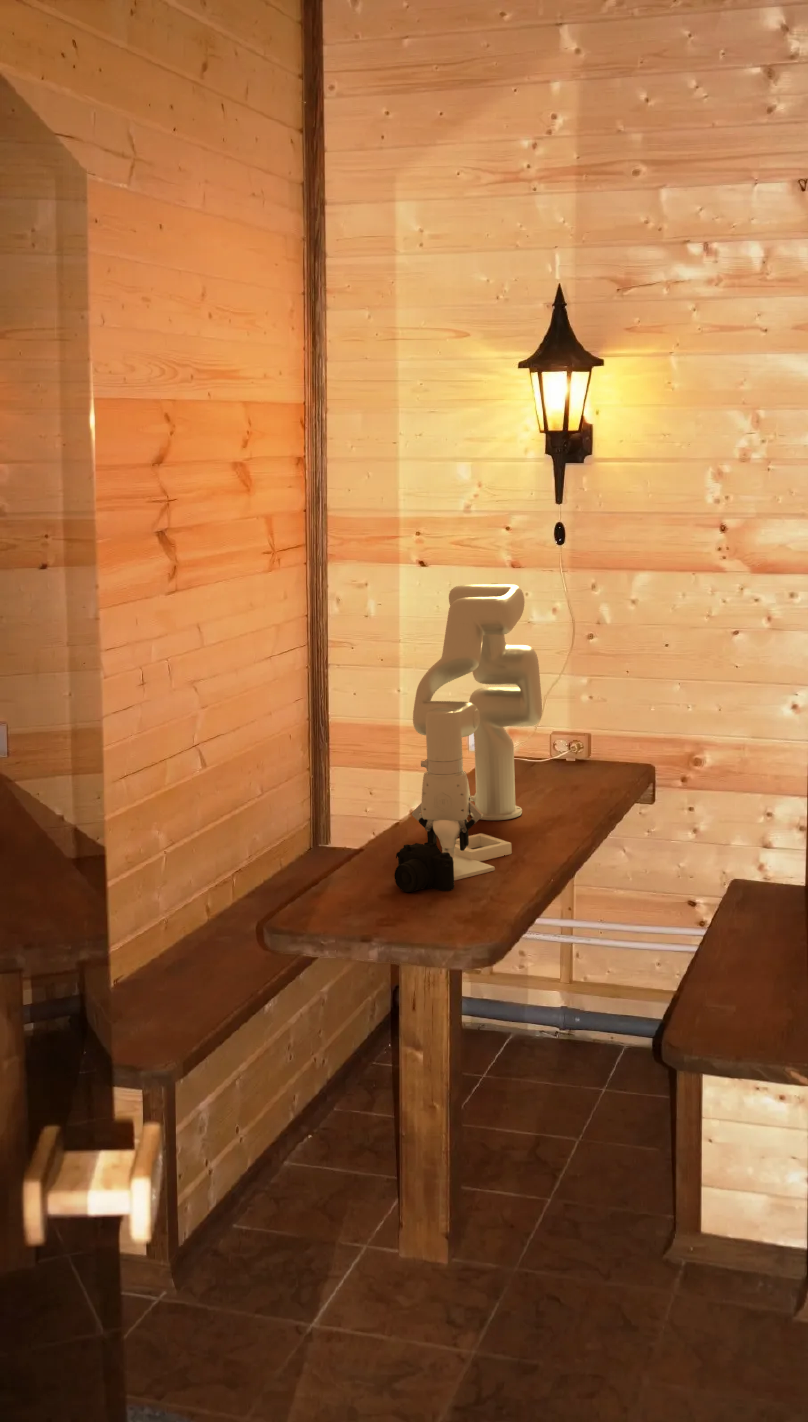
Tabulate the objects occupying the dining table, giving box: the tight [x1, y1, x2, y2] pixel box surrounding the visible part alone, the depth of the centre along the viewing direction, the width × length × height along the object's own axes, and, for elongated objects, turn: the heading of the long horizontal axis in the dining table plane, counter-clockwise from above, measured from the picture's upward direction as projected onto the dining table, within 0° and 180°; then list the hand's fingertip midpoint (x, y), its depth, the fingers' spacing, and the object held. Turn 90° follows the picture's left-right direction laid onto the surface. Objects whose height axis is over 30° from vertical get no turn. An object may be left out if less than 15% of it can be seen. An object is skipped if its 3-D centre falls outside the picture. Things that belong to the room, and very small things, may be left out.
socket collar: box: [441, 832, 513, 862], centre depth 326 cm, size 11×11×2 cm
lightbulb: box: [433, 820, 461, 858], centre depth 314 cm, size 6×6×11 cm
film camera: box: [393, 841, 455, 893], centre depth 303 cm, size 15×10×9 cm, turn 44°
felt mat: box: [453, 854, 496, 881], centre depth 315 cm, size 14×14×1 cm
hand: (448, 847), depth 314 cm, fingers closed on lightbulb, 6 cm apart
